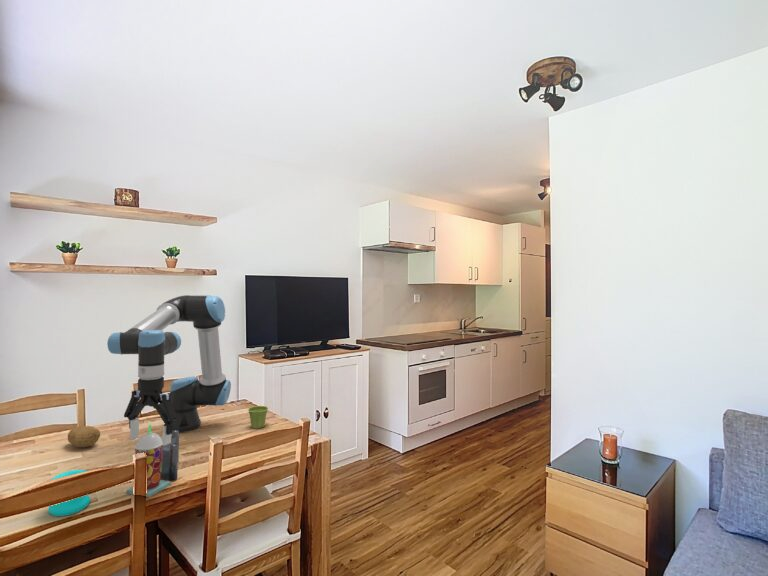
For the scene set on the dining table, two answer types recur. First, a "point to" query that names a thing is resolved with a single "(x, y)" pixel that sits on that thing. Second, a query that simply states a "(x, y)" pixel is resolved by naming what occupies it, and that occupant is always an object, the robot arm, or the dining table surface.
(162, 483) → the pad
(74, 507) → the teal ball
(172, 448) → the magazine holder
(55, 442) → the dining table surface
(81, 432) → the potato
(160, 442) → the smoothie
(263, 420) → the plant pot
